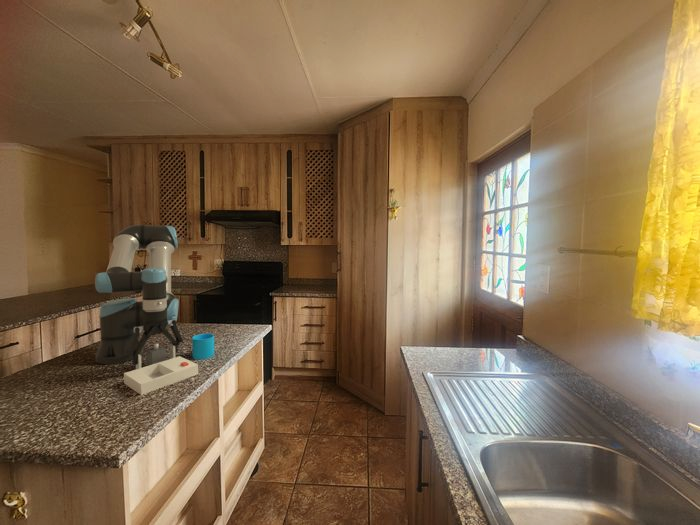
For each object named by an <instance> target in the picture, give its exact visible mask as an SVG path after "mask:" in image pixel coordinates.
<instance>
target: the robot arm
mask: <svg viewBox="0 0 700 525" xmlns="http://www.w3.org/2000/svg"><path fill="white" fill-rule="evenodd" d="M178 244H179V242H178V236H177V231H176V228H175V227H174V226H171V225H165V224H164V225H151V224H133V225H130V226H126V227H125V228H123V229H122V230H120V231H119V232H118V233H117V234H116V235H115V236H114V238H113V240H112V246H113V249H112V252H111V256H110V259H109V263H108V265H107V269H106V271H103V272H99V273H96V274H95V278H94V286H95V290H96V291H97V292H98V293H100V294H101V293H108V294H109V293H111V294H112V293H121V292H122V293H124V292H140V291H142V301H141V300H140V301H137V299H136V298H135V297H129V298H121V299H115V300H112V301H107V302H105V303H103V304H102V305H101V306H100V308H99V315H98V318H99V325H100V343H99V345H98V348H97V351H96V354H95V362H96V363H97V364H100V365H111V364H113V365H114V364H120V363H125V362H128V361H132V364H133V365H135V370H136V369H139V368H142V355H143V354H144V347H145V346H146V343H147V341H148V340H149V339H150V338H151V336H155V335H160V334H162V335H163V336H165V337H166V339H167V340H168V341H169V342H170V344H169V359H172V358H175V357H176V354H177V353H178V352H179V351H178V346H179V345H180V344H181V343H182V342H183V341H184V340H183V338H182V336H181V333H180V330H179V329H178V327H177V326H178V325H177V320H178V315H179V314H178V313H179V305H180V304H179V303H180V302H179V299H178V298H176V296H175V295H174V293H172V254H174V253H175V250H176V249H178V248H179V247H178ZM138 249H141V250H142V249H143V250H146V252H147V253H148V254H149V266H148V267H149V268H144V269H142V270H141V271H132V267H133V264H134V263H133V262H134V259H135V253H136V251H137V250H138ZM167 327H170V329H171V332H172V333H173V335H174V337H173V336H172V334H171V333H170V332H169V331H168V330H167V329H166V328H167ZM142 331H144V332H143V333H142ZM141 333H142V336H141V337H140V334H141ZM139 337H140V338H139Z"/></svg>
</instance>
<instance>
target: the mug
mask: <svg viewBox="0 0 700 525" xmlns="http://www.w3.org/2000/svg"><path fill="white" fill-rule="evenodd" d="M191 340H192V342H191V343H192V359H194V360H206V359H207V360H208V359H210V358H212V357H214V356H215V335H214V333H200V334H196V335H193V336H192V338H191Z"/></svg>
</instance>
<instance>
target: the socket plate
mask: <svg viewBox="0 0 700 525" xmlns="http://www.w3.org/2000/svg"><path fill="white" fill-rule="evenodd" d="M197 375H199V364H198V363H195V362H193V361H191V360H189V359H187V358H184V357H182V356H180V355H179V356H175V358H172V359H170V358H169V359H166V361H162V362H159V363H156V364H152V365H149V366H143V367H141V368H139V369H136V368H135V369H133V370H130V371H127V372H124V373H123V384H124V385H126V386H127V387H129V388H130V389H132V390H133V391H135V393H137V394H139V395H140V396H144V395H146V394H148V393H152V392H154V391H156V389H157V390H159V388H160V389H162V388H164V386H165V387H168V386H170V385H172V384H175V383H179V382H181V381H184V380H186V379H190V378H192V377H194V376H197ZM167 385H168V386H167ZM151 391H152V392H151ZM143 394H144V395H143Z"/></svg>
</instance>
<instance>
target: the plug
mask: <svg viewBox="0 0 700 525" xmlns="http://www.w3.org/2000/svg"><path fill="white" fill-rule="evenodd" d="M145 359H146V360H145V361H146V362H145V364H146V366H149V365H152V364H156V363H159V362H162V361H166V360H167V348H165V347H163V346H160V345H159V343H153V346H152V348H148V349H145ZM146 366H145V367H146Z"/></svg>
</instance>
